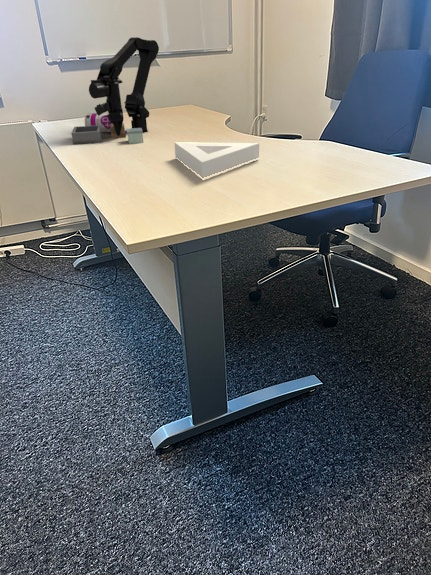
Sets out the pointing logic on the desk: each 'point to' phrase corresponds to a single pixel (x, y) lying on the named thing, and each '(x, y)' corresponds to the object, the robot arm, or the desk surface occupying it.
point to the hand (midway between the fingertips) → (118, 134)
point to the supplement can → (98, 121)
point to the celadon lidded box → (135, 135)
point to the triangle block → (214, 155)
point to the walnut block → (113, 132)
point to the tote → (87, 134)
